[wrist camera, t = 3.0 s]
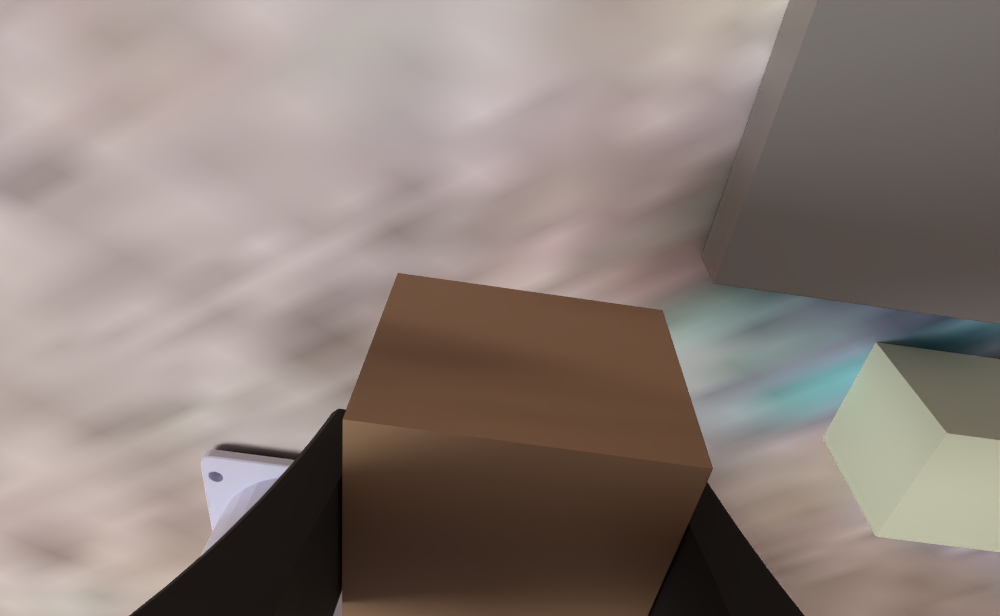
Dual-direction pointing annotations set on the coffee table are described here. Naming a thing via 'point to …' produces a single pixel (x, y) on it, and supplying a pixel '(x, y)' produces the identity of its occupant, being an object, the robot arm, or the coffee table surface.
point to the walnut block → (515, 456)
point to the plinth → (872, 160)
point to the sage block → (923, 446)
